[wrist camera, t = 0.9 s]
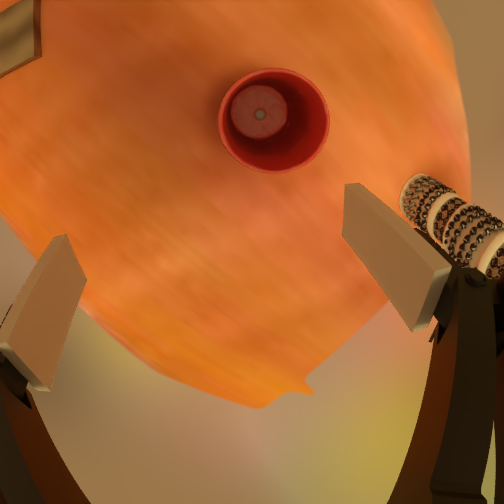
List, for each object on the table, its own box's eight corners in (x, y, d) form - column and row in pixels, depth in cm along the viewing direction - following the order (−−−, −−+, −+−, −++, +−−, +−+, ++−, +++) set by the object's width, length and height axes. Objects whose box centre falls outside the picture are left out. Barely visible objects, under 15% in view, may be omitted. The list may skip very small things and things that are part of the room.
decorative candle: (432, 215, 47) (525, 300, 26) (394, 223, 46) (490, 323, 25) (438, 169, 42) (549, 244, 21) (399, 173, 41) (518, 262, 20)
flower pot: (266, 168, 38) (286, 195, 30) (196, 121, 33) (195, 134, 25) (315, 107, 34) (350, 117, 26) (248, 54, 29) (265, 45, 21)
